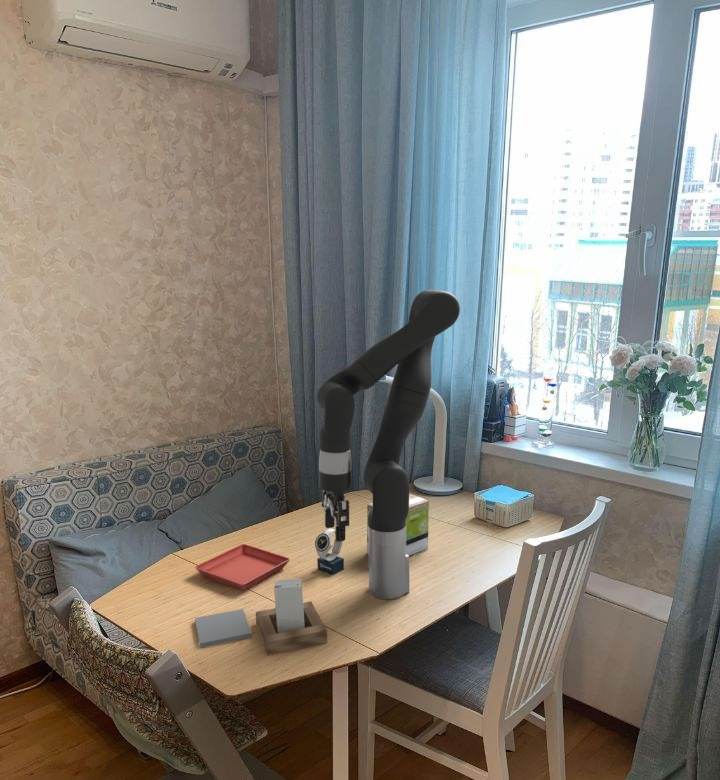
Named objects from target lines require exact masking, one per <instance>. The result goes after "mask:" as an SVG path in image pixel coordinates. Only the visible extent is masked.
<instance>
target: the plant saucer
mask: <svg viewBox="0 0 720 780" xmlns="http://www.w3.org/2000/svg"><path fill="white" fill-rule="evenodd" d="M290 560H291V558H290V557H287V556H285V555H281V554H278V553H275V552H271V551H269V550H268V551H267V550H266V549H261V548H258V547H257V546H256V547H255V546H252V545H249V544H246V543H242V544H239V545H237V546H235V547H233V548H231V549H229V550H227V551H225V552H223V553H220V554H218V555H216V556H214V557H212V558H210V559H207V560H206V561H203V562H202V563H200V564H198V565H195V570H196V571H197V572H198V573H199V574H201V575H203V577H205V578H207V579H209V580H210V579H211V580H212V581H213V580H214V581H215V580H216V581H215V582H219V583H221V584H223V583H224V585H227V586H229V587H232V588H234V589H237V590H239V589H240V590H239V591H246V590H248V589H249V587H250V588H251V587H253V586H255V585H257V584H258V582H259V583H261V582H263V581H265V579H268V578H269V577H271V576H273V575H275V574H277V573H278V572H280V571H281V570H283V569H284V568H285V567H286V565H287V564H288V563H289V562H290ZM256 583H257V584H256Z"/></svg>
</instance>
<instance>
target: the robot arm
mask: <svg viewBox="0 0 720 780" xmlns="http://www.w3.org/2000/svg"><path fill="white" fill-rule="evenodd" d="M460 307H461V306H460V303H459V300H458V299H457V297H456V296H455V295H454V294H452V293H451V292H449V291H445V290H438V289H426V290H422V291H420V292H419V293H417V295H416V296H415V297H414V299H413V301H412V303H411V306H410V311H409V315H408V316H409V317H408V320H407V324H405V325H404V326H402V327H401V328H399V329H398V330H397V331H395V332H393V333H392V334H390V335H389V336H387V337H385V338H383V339H381V340H379V341H377V343H375V344H374V345H372V346H371V347H370V348H368V349H367V350H366V351H365V352H363V353H362V354H361V355H360V356H359V357H358V358H356V360H354V361H353V362H352V363H351V364H350V365H349V366H348V367H346V368H345V369H342V370H341V371H339V372H337V373H335V375H332V376H331V377H330V378H328V379H327V380H326V381H324V383H323V384H322V385H321V386H320V387H319V389H318V391H317V395H316V400H317V404H318V405H319V406H320V407H321V409H323V410H324V423H323V425H322V426H321V427H320V433H319V457H318V487H319V488H320V490H321V508H323V512H324V526H325V528H327V529H333V528H334V530H335V532H334V534H335V535H334V537H335V538H334V541H335V540H336V541H337V542H340V541H343V542H345V540H346V527H350V501H349V499H347V498H346V496H345V495H344V492H346V491H348V490H350V489H351V486H352V453H351V437H352V436H351V429H352V425H353V421H354V420H353V419H354V415H355V408H356V407H355V406H356V405H355V404H356V402H355V397H354V395H356V394H357V393H359V392H361V391H365V390H369V389H371V388H372V387H373V386H375V385H376V384H377V383H378V382H380V380H382V378H384V377H385V376H386V375H387V374H388V373H389V372H390V371H391V370H393V369H394V368H395V367H396V370H395V373H394V376H393V379H392V382H391V386H390V390H389V392H388V393H389V394H388V396H387V400H386V404H385V408H384V411H383V416H382V419H381V423H380V424H379V425H380V426H379V429H378V433H377V436H376V439H375V441H374V445H373V447H372V449H371V452H370V454H369V457H368V459H367V461H366V464H365V467H364V469H363V475H362V476H363V477H362V478H363V483H364V485H365V487H366V489H367V490H368V491H369V492H370V493H371V494H372V503H373V511H371V512H370V513H369V515H368V549H369V553H368V583H369V584H368V588H369V593H370V594H371V595H372V596H373V597H375V598H378V599H383V600H391V599H392V600H394V599H398V598H400V597H403V596H404V595H405V594H406V593H407V594H408V593H410V592H411V591H410V590H411V589H410V555H409V556H408V555H407V553H406V518H407V516H408V512H409V494H410V479H409V476H408V473H407V472H406V471H405V469H404V468H403V467H402V466H400V461H401V456H402V452H403V448H404V446H405V443H406V441H407V439H408V437H409V436H410V434H411V432H412V431H413V430H414V429H415V427H416V426H417V424H418V423H419V421H420V420H421V419H422V416H423V415H424V412H425V410H426V406H427V402H428V399H429V396H430V393H431V389H432V388H431V387H432V363H431V362H432V360H431V359H432V358H431V357H432V350H433V346H434V342H435V338H436V336H438V335H440V334H442V333H443V332H444V331H446V330H448V329H449V328H451V327H452V326H453V325H454V324H455V323H456V322H457V320H458V318H459V316H460V312H461V311H460V310H461V308H460Z"/></svg>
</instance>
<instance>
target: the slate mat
mask: <svg viewBox="0 0 720 780" xmlns="http://www.w3.org/2000/svg"><path fill="white" fill-rule="evenodd" d="M245 614H246V613H245V611H244V608H241V609H236V610H235V609H234V610H230V611H224V612H219V613H214V614H208V615H204V616H202V615H201V616H198V617H195V618H194V620H195V621H194V623H195V626H196V631H197V632H196V633H197V638H198V643H199V647H200V648H205V647H209V646H215V645H220V644H225V643H230V642H235V641H239V640H240V641H241V640H244V639H248V638H252V632H251V629H250V626H249V623H248V619H247V617H246V615H245Z"/></svg>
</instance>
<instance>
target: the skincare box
mask: <svg viewBox="0 0 720 780" xmlns="http://www.w3.org/2000/svg"><path fill="white" fill-rule="evenodd" d="M302 585H303V581H302V578H290V579H287V578H286V579H275V580H274V587H273V590H274V603H275V605H274V606H275V608H276V619H277V626H276V628H277V631H276V633H282V632H287V631H292V630H297V629H302V628H306V627H305V625H306V624H305V622H304V609H303V603H304V599H303V586H302Z"/></svg>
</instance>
